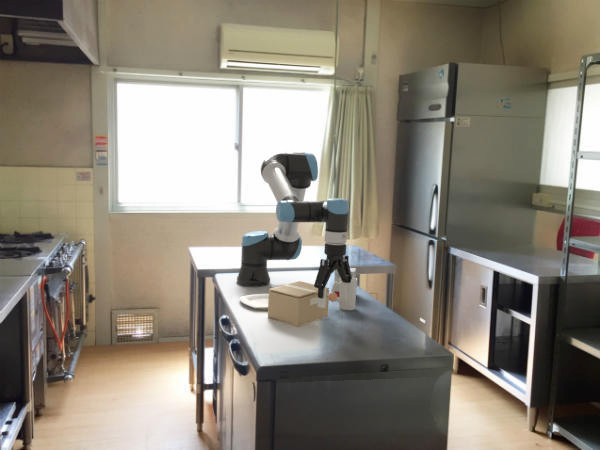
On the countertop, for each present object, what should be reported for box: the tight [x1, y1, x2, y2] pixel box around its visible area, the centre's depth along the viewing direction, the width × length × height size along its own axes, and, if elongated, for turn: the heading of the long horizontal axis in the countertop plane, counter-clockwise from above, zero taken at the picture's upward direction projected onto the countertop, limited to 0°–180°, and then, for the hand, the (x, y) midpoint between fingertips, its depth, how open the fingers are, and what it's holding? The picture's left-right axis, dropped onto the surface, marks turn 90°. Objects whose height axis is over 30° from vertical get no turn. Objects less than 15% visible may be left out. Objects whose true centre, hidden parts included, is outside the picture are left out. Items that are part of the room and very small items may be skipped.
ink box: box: [333, 267, 357, 298], centre depth 242 cm, size 9×9×12 cm
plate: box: [239, 293, 269, 310], centre depth 224 cm, size 19×19×2 cm
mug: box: [330, 277, 358, 311], centre depth 222 cm, size 10×7×12 cm, turn 101°
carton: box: [267, 289, 330, 327], centre depth 208 cm, size 14×18×10 cm
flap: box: [268, 280, 338, 303], centre depth 205 cm, size 24×18×3 cm
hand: (332, 303), depth 199 cm, fingers open, 12 cm apart
